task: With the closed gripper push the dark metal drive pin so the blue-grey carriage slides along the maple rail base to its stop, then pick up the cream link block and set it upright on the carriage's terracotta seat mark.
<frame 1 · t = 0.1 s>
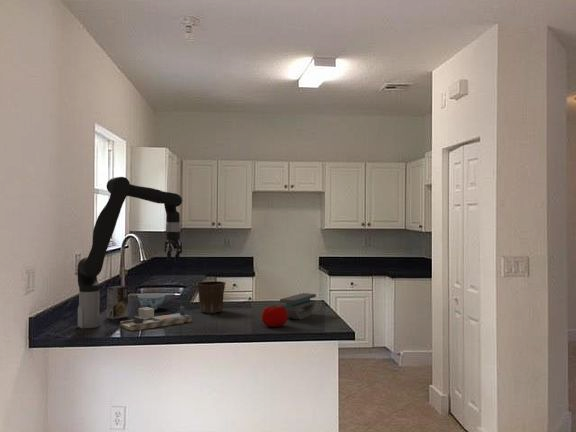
hand: (173, 260, 282), 29 cm above the countertop, fingers open, 8 cm apart
link block: (146, 320, 268), on the countertop
plant pot: (211, 312, 292), on the countertop
chinaware: (151, 309, 300), on the countertop
coffee box: (117, 317, 275), on the countertop
tomato: (274, 326, 252), on the countertop
rail base: (156, 324, 258), on the countertop
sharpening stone: (298, 317, 276), on the countertop
carriage: (171, 313, 263), point 4 cm above the countertop, slide at 0.0 cm
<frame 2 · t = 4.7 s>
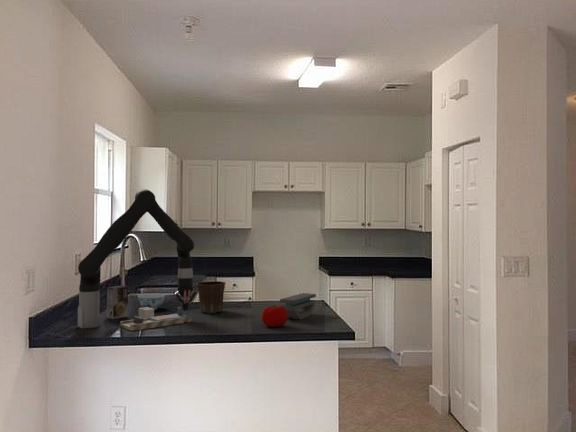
hand: (185, 310, 269), 5 cm above the countertop, fingers closed
carriage: (168, 313, 262), point 4 cm above the countertop, slide at 1.3 cm, touching gripper
everything else where it was.
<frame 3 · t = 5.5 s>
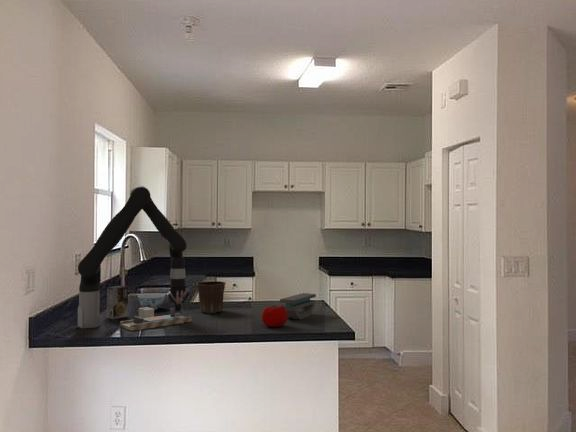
hand: (177, 311, 266), 5 cm above the countertop, fingers closed
carriage: (160, 314, 259), point 4 cm above the countertop, slide at 5.6 cm, touching gripper
everything else where it was.
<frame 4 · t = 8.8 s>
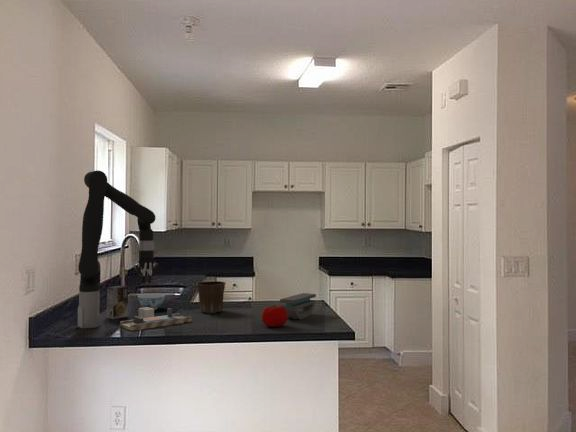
hand: (146, 283, 268), 19 cm above the countertop, fingers closed
carriage: (158, 315, 258), point 4 cm above the countertop, slide at 7.1 cm
everything else where it was.
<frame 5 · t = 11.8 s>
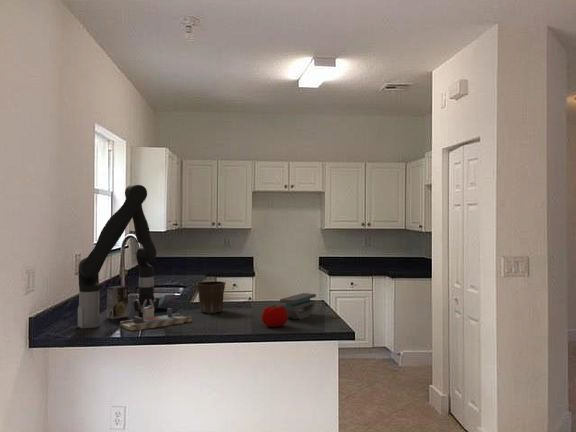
hand: (146, 318, 268), 1 cm above the countertop, fingers closed on link block, 5 cm apart
link block: (146, 320, 268), on the countertop, touching gripper
everything else where it was.
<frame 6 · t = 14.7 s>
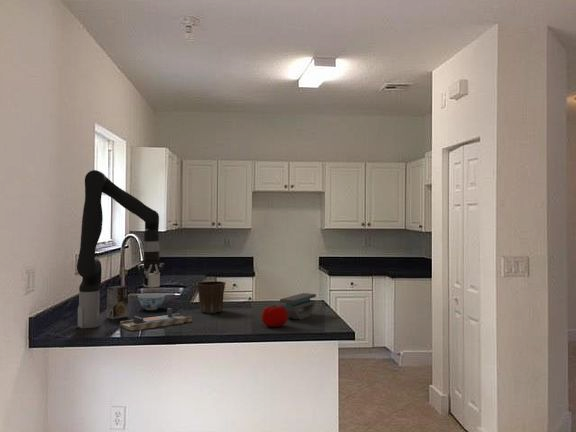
hand: (151, 284, 257), 19 cm above the countertop, fingers closed on link block, 5 cm apart
link block: (151, 286, 257), point 19 cm above the countertop, touching gripper
everything else where it was.
when the fingers open (5 cm above the countertop, at t = 18.0 s): link block drops 1 cm, resting on carriage.
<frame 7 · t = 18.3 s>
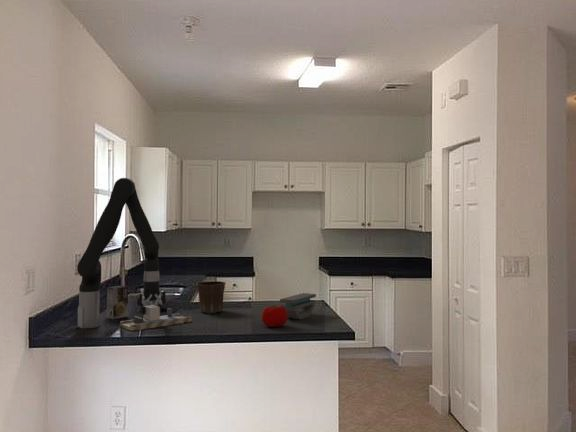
hand: (151, 313, 256), 6 cm above the countertop, fingers open, 7 cm apart
link block: (151, 318, 256), point 3 cm above the countertop, touching carriage
carriage: (158, 315, 258), point 4 cm above the countertop, slide at 7.1 cm, touching link block
everything else where it was.
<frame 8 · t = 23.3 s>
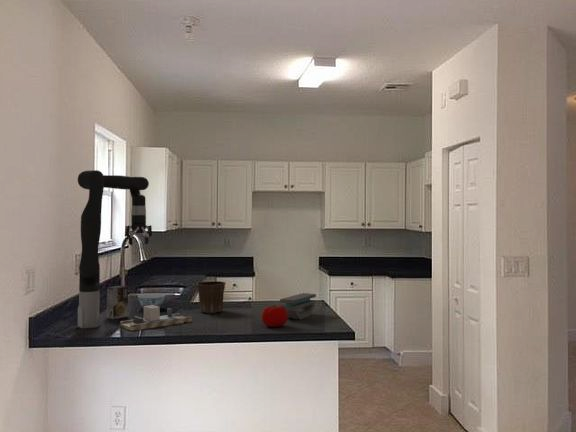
hand: (138, 244, 279), 38 cm above the countertop, fingers open, 8 cm apart
nothing on the countertop moved.
at the end: carriage slide at 7.1 cm; link block inside the target area on the rail base (0.1 cm from its centre), point 2.9 cm above the rail base's base; link block tilted 0° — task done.
